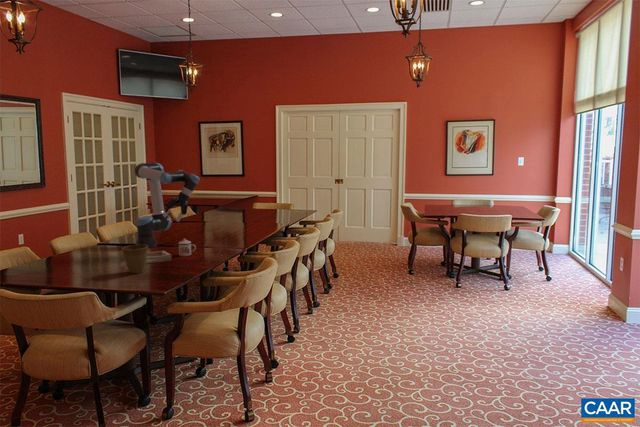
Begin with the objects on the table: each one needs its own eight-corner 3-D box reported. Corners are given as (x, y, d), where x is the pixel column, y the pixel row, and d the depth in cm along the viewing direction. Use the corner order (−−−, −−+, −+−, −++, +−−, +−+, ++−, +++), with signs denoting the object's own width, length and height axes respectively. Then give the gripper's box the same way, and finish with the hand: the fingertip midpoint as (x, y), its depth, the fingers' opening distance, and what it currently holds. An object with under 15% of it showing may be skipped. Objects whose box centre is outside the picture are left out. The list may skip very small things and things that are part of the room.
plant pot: (140, 268, 316) (139, 243, 314) (154, 271, 307) (152, 246, 305) (119, 272, 305) (117, 247, 303) (131, 276, 295) (130, 250, 293)
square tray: (134, 260, 338) (134, 254, 338) (163, 256, 350) (163, 250, 349) (141, 264, 325) (141, 258, 324) (171, 260, 336) (171, 254, 335)
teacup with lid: (177, 256, 348) (177, 240, 346) (179, 253, 357) (178, 238, 355) (195, 255, 350) (194, 239, 348) (196, 253, 358) (195, 237, 357)
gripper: (176, 190, 349) (161, 216, 349) (199, 200, 370) (185, 225, 370) (170, 186, 353) (155, 212, 352) (193, 196, 374) (179, 220, 374)
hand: (170, 218), depth 361 cm, fingers open, 13 cm apart
